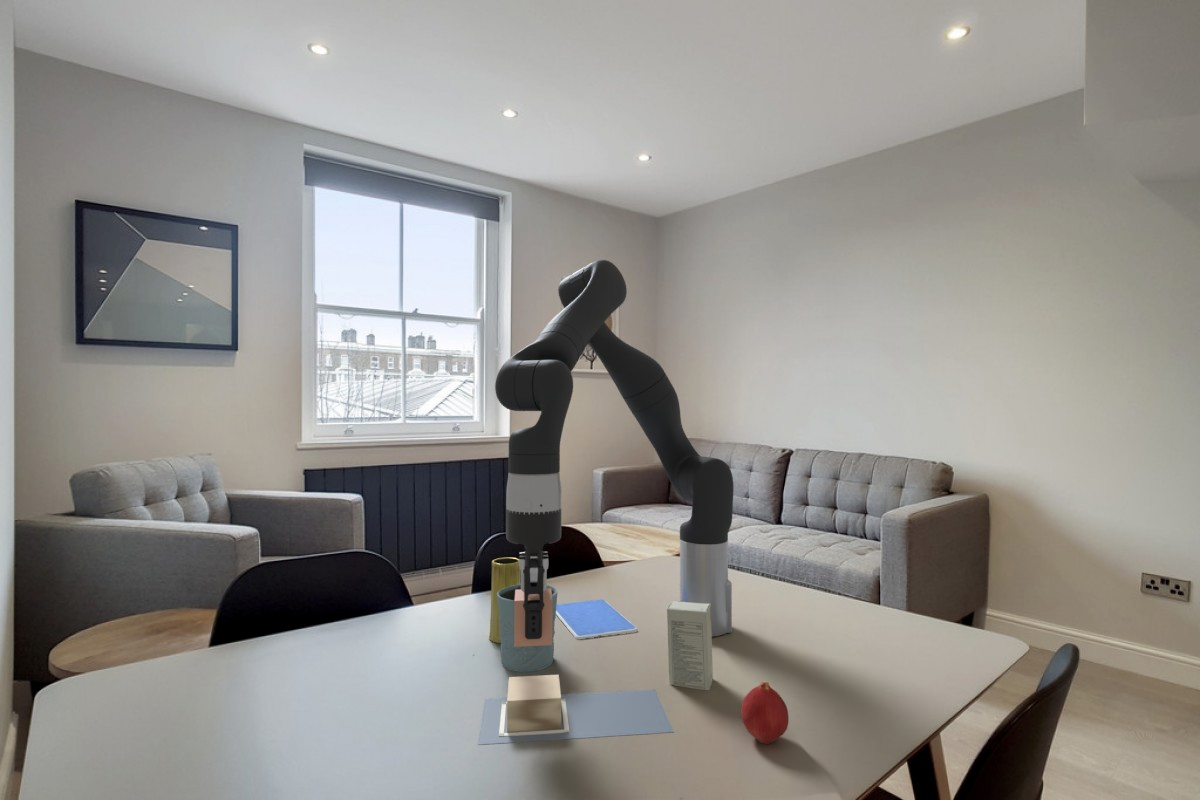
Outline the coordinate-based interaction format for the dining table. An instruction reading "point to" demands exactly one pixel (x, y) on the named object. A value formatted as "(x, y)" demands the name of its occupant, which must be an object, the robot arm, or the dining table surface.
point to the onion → (764, 713)
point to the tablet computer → (593, 619)
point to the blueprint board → (583, 718)
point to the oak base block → (533, 703)
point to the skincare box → (690, 645)
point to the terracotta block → (520, 620)
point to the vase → (502, 577)
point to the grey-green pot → (510, 655)
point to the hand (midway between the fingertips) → (533, 629)
